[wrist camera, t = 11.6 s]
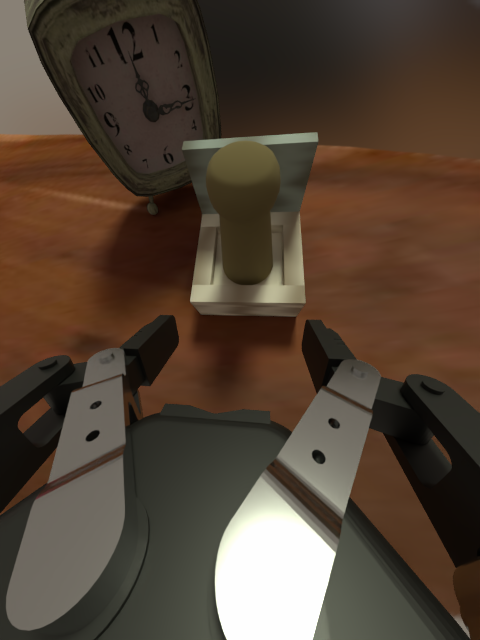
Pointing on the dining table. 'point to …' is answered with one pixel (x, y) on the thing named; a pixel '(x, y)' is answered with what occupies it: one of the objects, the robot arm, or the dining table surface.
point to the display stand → (287, 273)
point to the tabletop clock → (132, 82)
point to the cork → (244, 207)
